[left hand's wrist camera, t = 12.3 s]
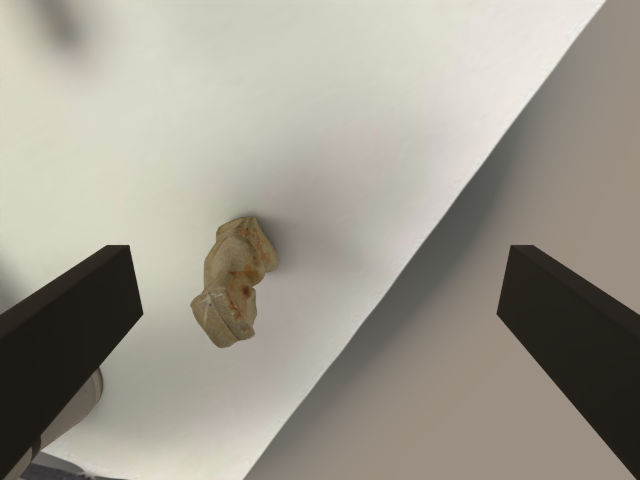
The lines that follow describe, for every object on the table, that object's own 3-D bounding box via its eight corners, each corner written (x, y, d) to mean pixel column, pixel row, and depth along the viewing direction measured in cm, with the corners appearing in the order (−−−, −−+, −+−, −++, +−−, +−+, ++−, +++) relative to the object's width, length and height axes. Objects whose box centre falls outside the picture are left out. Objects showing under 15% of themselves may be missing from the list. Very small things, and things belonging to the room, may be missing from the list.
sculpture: (241, 276, 42) (201, 363, 28) (214, 221, 39) (155, 285, 25) (287, 260, 41) (270, 342, 27) (263, 204, 38) (230, 260, 24)
